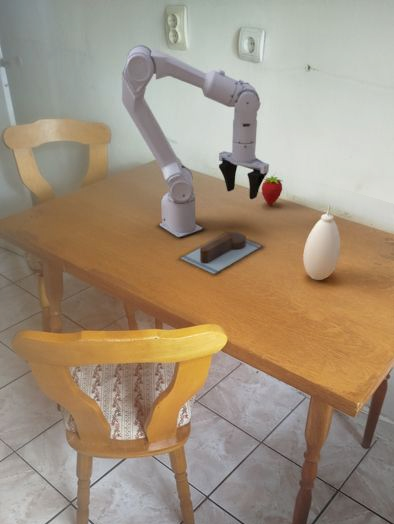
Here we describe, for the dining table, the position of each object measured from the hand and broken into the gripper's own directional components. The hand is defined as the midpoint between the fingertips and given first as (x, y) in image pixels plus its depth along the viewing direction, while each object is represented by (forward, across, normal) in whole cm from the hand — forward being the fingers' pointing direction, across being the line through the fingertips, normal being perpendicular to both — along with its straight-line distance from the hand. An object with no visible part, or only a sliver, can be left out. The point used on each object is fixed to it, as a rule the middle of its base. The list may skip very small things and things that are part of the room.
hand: (241, 194), depth 131 cm
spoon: (+9, -6, +14) cm, 18 cm away
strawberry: (+10, +2, -17) cm, 19 cm away
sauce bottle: (+10, -30, +8) cm, 33 cm away
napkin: (+9, -6, +14) cm, 18 cm away
